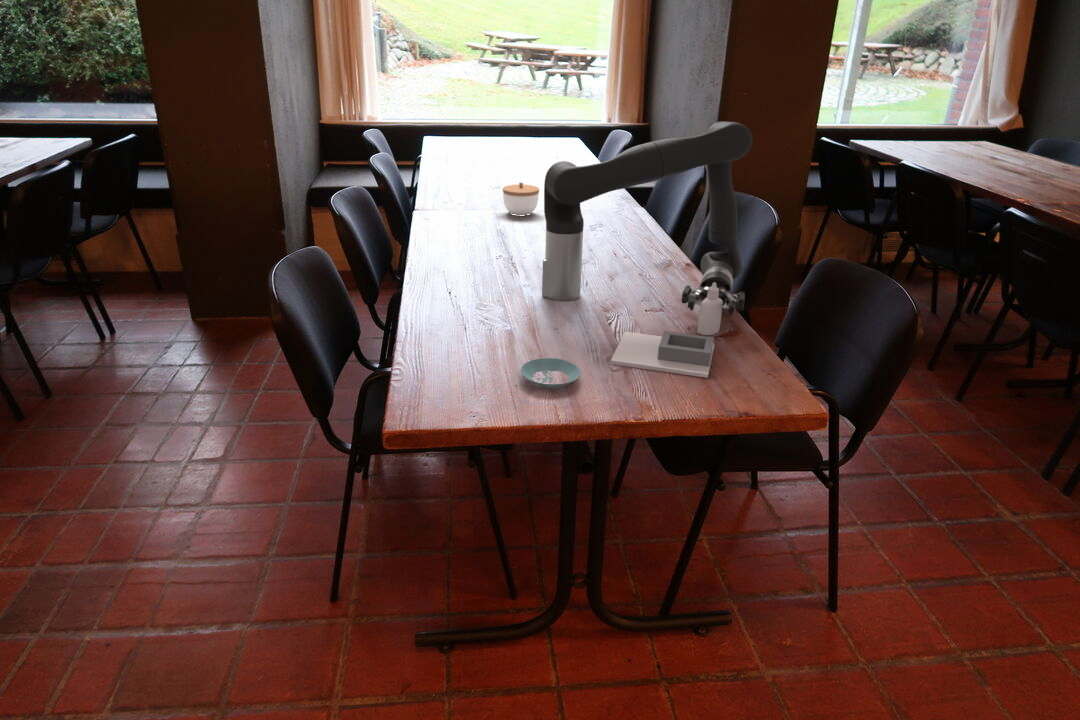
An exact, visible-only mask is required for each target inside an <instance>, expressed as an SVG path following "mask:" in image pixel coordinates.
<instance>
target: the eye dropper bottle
mask: <svg viewBox="0 0 1080 720" xmlns="http://www.w3.org/2000/svg"><path fill="white" fill-rule="evenodd" d="M718 295H719V289H718V288H717V287H716V283H713V284H712V287H709V288H708V294H707V298H705V299H704V300H703V301H702V302H701V305H699V311H698V312H699V314H698V321H697V329H696V332H697V334H699V335H700V336H707V337H708V336H711V335H715V334H717V333H719V331H720V330H721V329H720V327H721V322H722V312H723V301H722V300H721V299H720V298H718Z"/></svg>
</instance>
